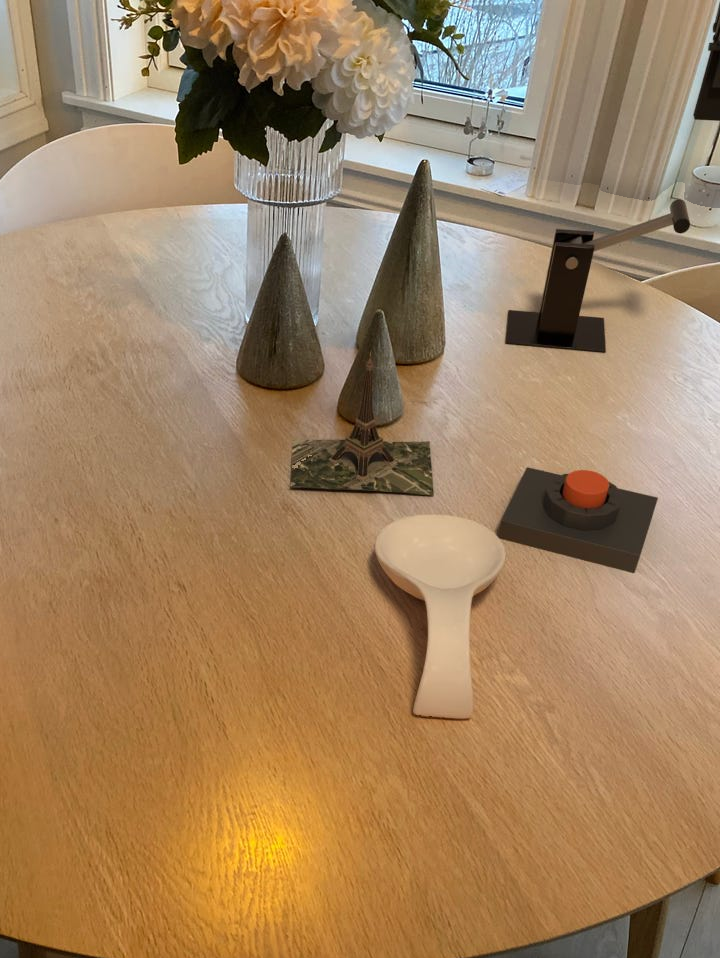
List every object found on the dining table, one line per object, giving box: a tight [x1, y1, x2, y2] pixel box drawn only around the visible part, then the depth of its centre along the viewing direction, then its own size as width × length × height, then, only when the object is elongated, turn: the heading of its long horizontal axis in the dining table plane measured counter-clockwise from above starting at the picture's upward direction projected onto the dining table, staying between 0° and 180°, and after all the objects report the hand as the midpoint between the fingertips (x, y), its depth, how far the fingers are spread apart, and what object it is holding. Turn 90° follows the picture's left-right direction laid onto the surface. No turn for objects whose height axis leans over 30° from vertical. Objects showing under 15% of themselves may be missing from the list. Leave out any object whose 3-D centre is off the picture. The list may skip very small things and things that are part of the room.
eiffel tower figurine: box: [289, 350, 435, 496], centre depth 101 cm, size 15×10×13 cm
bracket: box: [504, 228, 607, 354], centre depth 121 cm, size 12×9×13 cm
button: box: [562, 469, 610, 508], centre depth 95 cm, size 4×4×2 cm
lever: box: [563, 198, 691, 252], centre depth 116 cm, size 14×6×2 cm, turn 76°
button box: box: [497, 466, 659, 574], centre depth 96 cm, size 13×10×4 cm
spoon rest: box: [374, 513, 507, 720], centre depth 86 cm, size 24×12×7 cm, turn 175°
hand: (707, 117), depth 106 cm, fingers closed
